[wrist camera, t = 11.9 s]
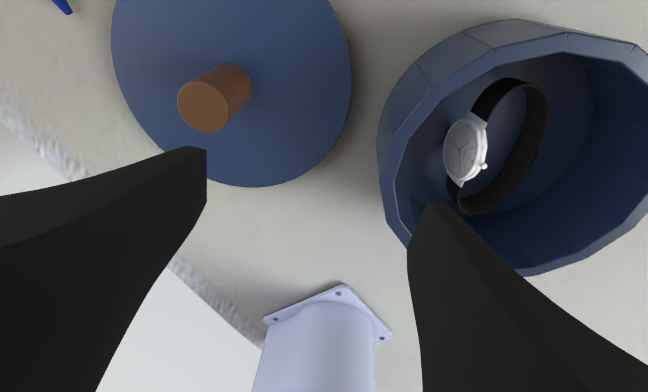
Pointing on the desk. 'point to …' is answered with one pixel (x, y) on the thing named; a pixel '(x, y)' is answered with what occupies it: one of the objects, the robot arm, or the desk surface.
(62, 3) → the ballpoint pen
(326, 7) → the lid
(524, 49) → the pot
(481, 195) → the watch
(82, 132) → the desk surface
